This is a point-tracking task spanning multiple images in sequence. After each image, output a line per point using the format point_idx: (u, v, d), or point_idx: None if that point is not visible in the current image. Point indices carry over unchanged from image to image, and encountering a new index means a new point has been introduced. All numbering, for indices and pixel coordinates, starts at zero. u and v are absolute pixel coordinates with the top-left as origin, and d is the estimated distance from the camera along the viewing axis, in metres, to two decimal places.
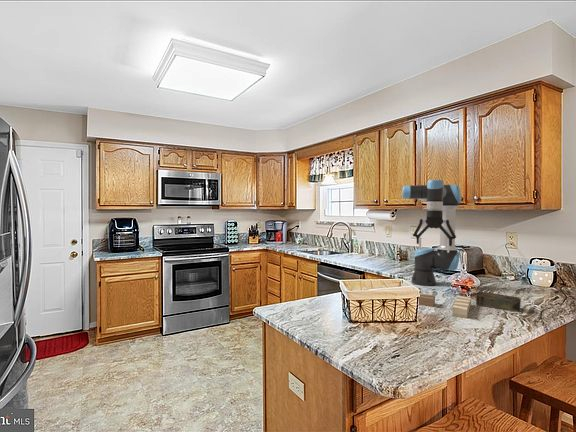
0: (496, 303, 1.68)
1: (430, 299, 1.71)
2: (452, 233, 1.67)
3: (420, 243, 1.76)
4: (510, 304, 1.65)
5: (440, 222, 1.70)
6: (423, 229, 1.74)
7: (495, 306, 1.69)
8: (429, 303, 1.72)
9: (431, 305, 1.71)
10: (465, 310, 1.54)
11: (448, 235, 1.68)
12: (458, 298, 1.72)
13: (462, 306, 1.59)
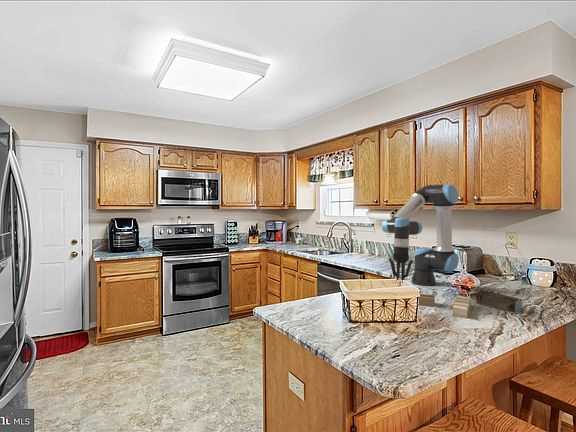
0: (493, 302, 1.70)
1: (432, 299, 1.72)
2: (407, 272, 1.79)
3: None
4: (506, 304, 1.65)
5: (405, 258, 1.79)
6: (397, 267, 1.82)
7: (492, 305, 1.70)
8: (431, 303, 1.72)
9: (433, 305, 1.72)
10: (465, 310, 1.54)
11: (403, 274, 1.80)
12: (458, 298, 1.72)
13: (462, 306, 1.59)
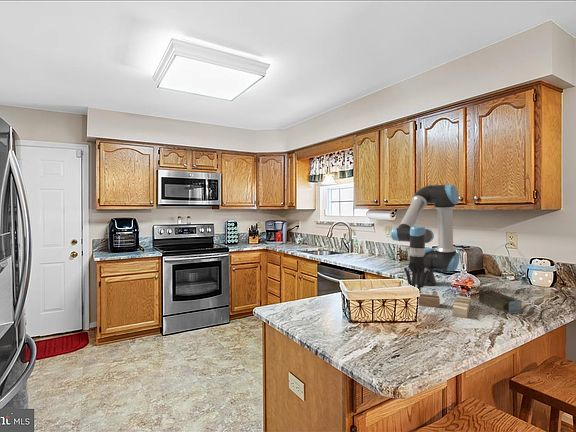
0: (491, 301, 1.71)
1: (436, 299, 1.70)
2: (423, 282, 1.75)
3: None
4: (502, 303, 1.66)
5: (421, 268, 1.75)
6: (412, 277, 1.78)
7: (491, 304, 1.72)
8: (435, 303, 1.70)
9: (437, 305, 1.70)
10: (465, 310, 1.54)
11: (418, 284, 1.76)
12: (458, 298, 1.72)
13: (462, 306, 1.59)
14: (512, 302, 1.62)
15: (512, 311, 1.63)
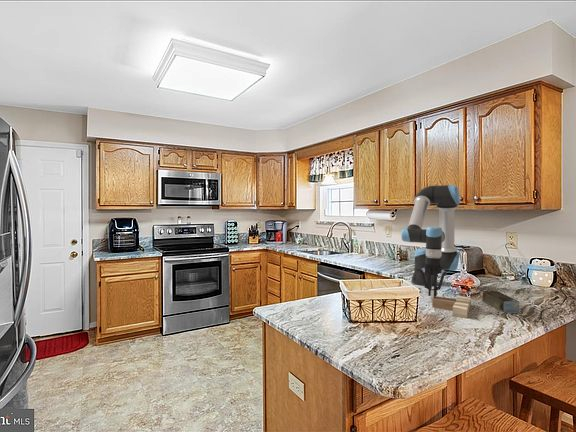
0: (491, 301, 1.72)
1: (451, 303, 1.65)
2: (440, 284, 1.71)
3: None
4: (499, 303, 1.66)
5: (438, 269, 1.71)
6: (429, 279, 1.73)
7: (491, 304, 1.73)
8: (450, 307, 1.65)
9: (452, 309, 1.65)
10: (465, 310, 1.54)
11: (435, 286, 1.72)
12: (458, 298, 1.72)
13: (462, 306, 1.59)
14: (508, 302, 1.62)
15: (508, 311, 1.63)
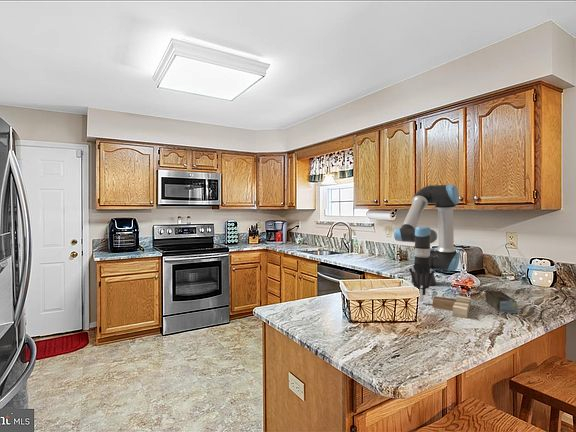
0: (491, 300, 1.73)
1: (451, 303, 1.65)
2: (428, 283, 1.74)
3: None
4: (496, 303, 1.67)
5: (427, 268, 1.74)
6: (417, 278, 1.76)
7: (491, 303, 1.73)
8: (450, 307, 1.65)
9: (452, 309, 1.65)
10: (465, 310, 1.54)
11: (424, 285, 1.75)
12: (458, 298, 1.72)
13: (462, 306, 1.59)
14: (504, 302, 1.63)
15: (504, 311, 1.63)
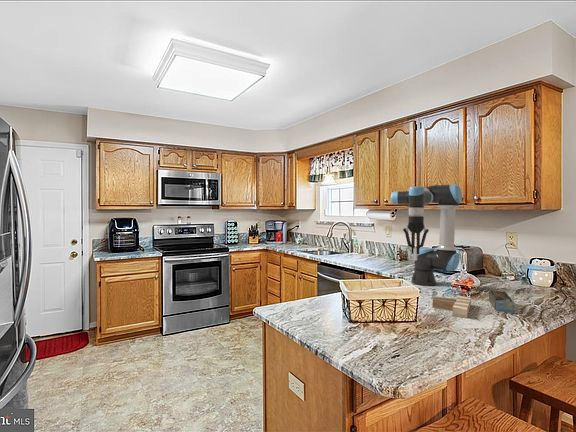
0: (491, 300, 1.74)
1: (451, 303, 1.65)
2: (422, 242, 1.75)
3: None
4: (494, 302, 1.68)
5: (420, 227, 1.76)
6: None
7: (491, 303, 1.74)
8: (450, 307, 1.65)
9: (452, 309, 1.65)
10: (465, 310, 1.54)
11: (418, 243, 1.76)
12: (458, 298, 1.72)
13: (462, 306, 1.59)
14: (500, 301, 1.64)
15: (501, 310, 1.64)
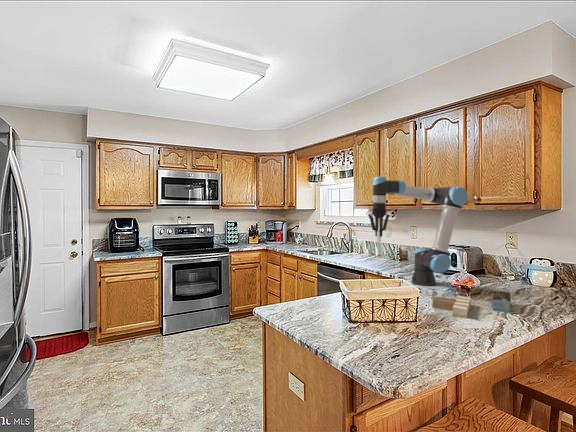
0: None
1: (451, 303, 1.65)
2: (384, 226, 1.99)
3: None
4: None
5: (383, 213, 1.99)
6: (375, 222, 2.02)
7: None
8: (450, 307, 1.65)
9: (452, 309, 1.65)
10: (465, 310, 1.54)
11: (380, 227, 2.00)
12: (458, 298, 1.72)
13: (462, 306, 1.59)
14: (497, 301, 1.64)
15: (497, 310, 1.65)
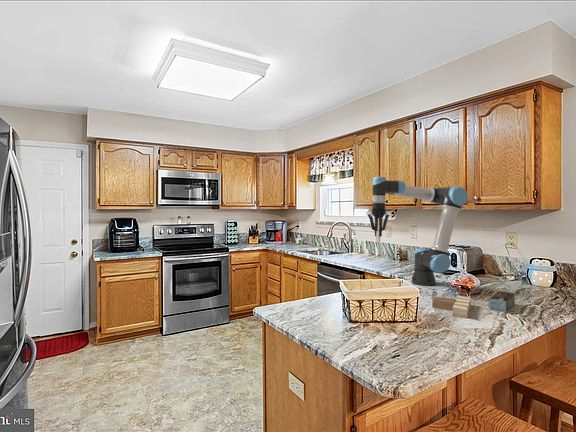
0: None
1: (451, 303, 1.65)
2: (383, 225, 1.99)
3: None
4: None
5: (382, 213, 2.00)
6: (375, 222, 2.02)
7: None
8: (450, 307, 1.65)
9: (452, 309, 1.65)
10: (465, 310, 1.54)
11: (380, 227, 2.00)
12: (458, 298, 1.72)
13: (462, 306, 1.59)
14: (493, 300, 1.66)
15: (494, 309, 1.66)
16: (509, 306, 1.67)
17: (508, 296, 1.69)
